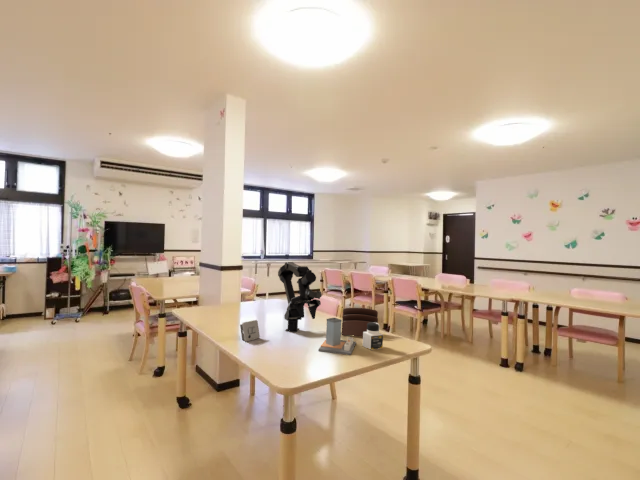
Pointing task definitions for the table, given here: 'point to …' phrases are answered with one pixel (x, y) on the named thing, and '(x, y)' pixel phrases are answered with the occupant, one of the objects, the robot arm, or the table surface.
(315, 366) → the table surface
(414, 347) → the table surface
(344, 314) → the letter holder
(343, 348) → the board
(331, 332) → the cap
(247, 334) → the electrical switch
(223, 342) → the table surface
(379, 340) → the medicine bottle
